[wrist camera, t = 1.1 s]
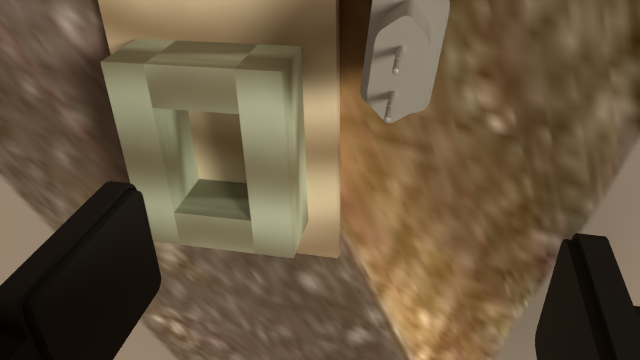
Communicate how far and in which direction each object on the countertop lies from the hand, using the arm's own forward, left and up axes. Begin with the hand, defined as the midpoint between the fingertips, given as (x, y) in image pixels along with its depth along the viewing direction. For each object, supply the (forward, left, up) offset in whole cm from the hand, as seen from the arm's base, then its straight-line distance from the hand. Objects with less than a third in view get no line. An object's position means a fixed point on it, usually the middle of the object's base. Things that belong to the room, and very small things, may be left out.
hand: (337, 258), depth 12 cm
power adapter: (0, 0, -21) cm, 21 cm away
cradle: (+8, -11, -20) cm, 24 cm away
